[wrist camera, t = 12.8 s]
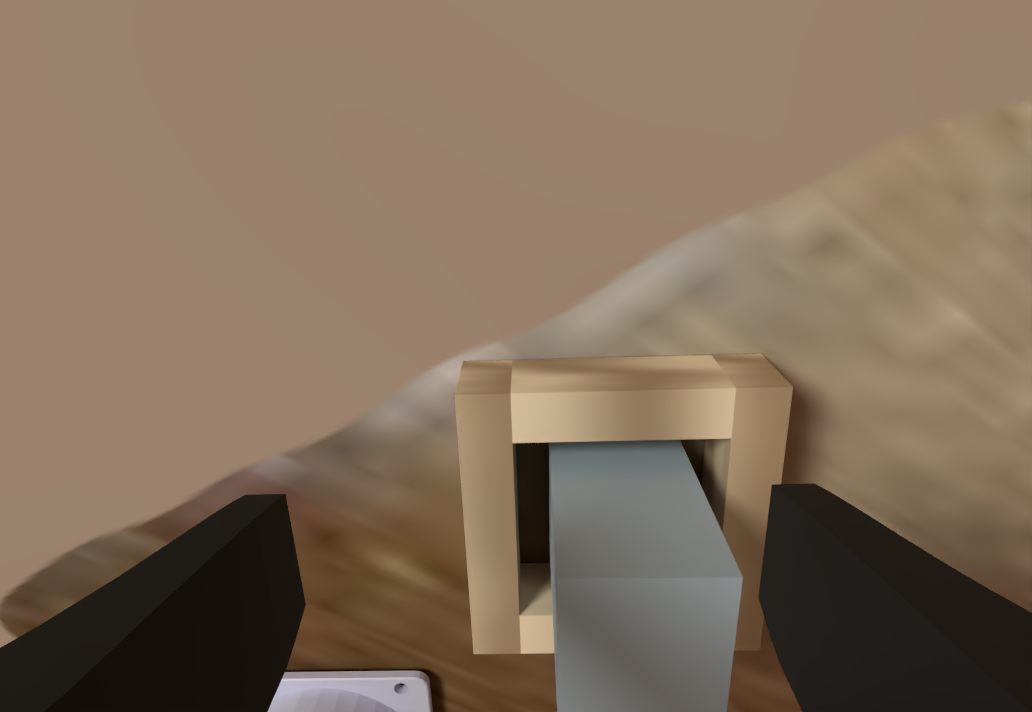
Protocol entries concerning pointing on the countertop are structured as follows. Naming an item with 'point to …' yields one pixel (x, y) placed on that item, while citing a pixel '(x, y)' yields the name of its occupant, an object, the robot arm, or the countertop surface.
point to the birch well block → (611, 417)
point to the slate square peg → (638, 581)
